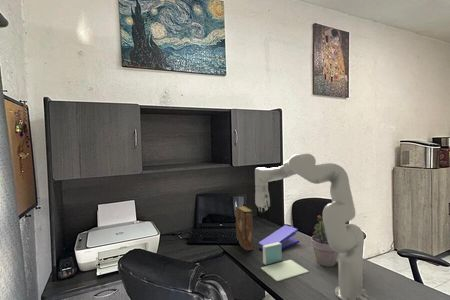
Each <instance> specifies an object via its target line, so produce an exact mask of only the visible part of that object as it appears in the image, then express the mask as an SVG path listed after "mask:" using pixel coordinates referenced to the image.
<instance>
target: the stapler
mask: <svg viewBox="0 0 450 300" xmlns="http://www.w3.org/2000/svg"><path fill="white" fill-rule="evenodd" d="M298 232H299V230H298V228H296V227H293V226H289V225H286V224H285V225H283V226H282V227H280V228H279V229H277V230H275V231H274V232H273V233H271V234H269V235H268V236H266V237H265V238H263V239H262V240H261V241H259V242H258V246H259V249H260V250H262V251H263V246H264V245H268V244H273V243H277V242H279V243H281V250H282V249H283V250H284V249H286V248H287V247H290V246H292V245H295V244H297V243H299V242H300V240H299V239H296V238H294V236H296V233H298Z"/></svg>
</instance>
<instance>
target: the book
mask: <svg viewBox="0 0 450 300" xmlns="http://www.w3.org/2000/svg"><path fill="white" fill-rule="evenodd" d="M234 209H235V239H236V238H237V240H238V241H239V244H240V245H239V244H238V245H239V246H240V247H241V248H243V249H244V250H245V251H246V250H247V251H249V250H250V251H253V250H254V228H253V226H254V223H253V222H254V220H253V218H254V217H253V210H252V209H250V208H248V207H247V206H244V205H241V206H235V208H234Z"/></svg>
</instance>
